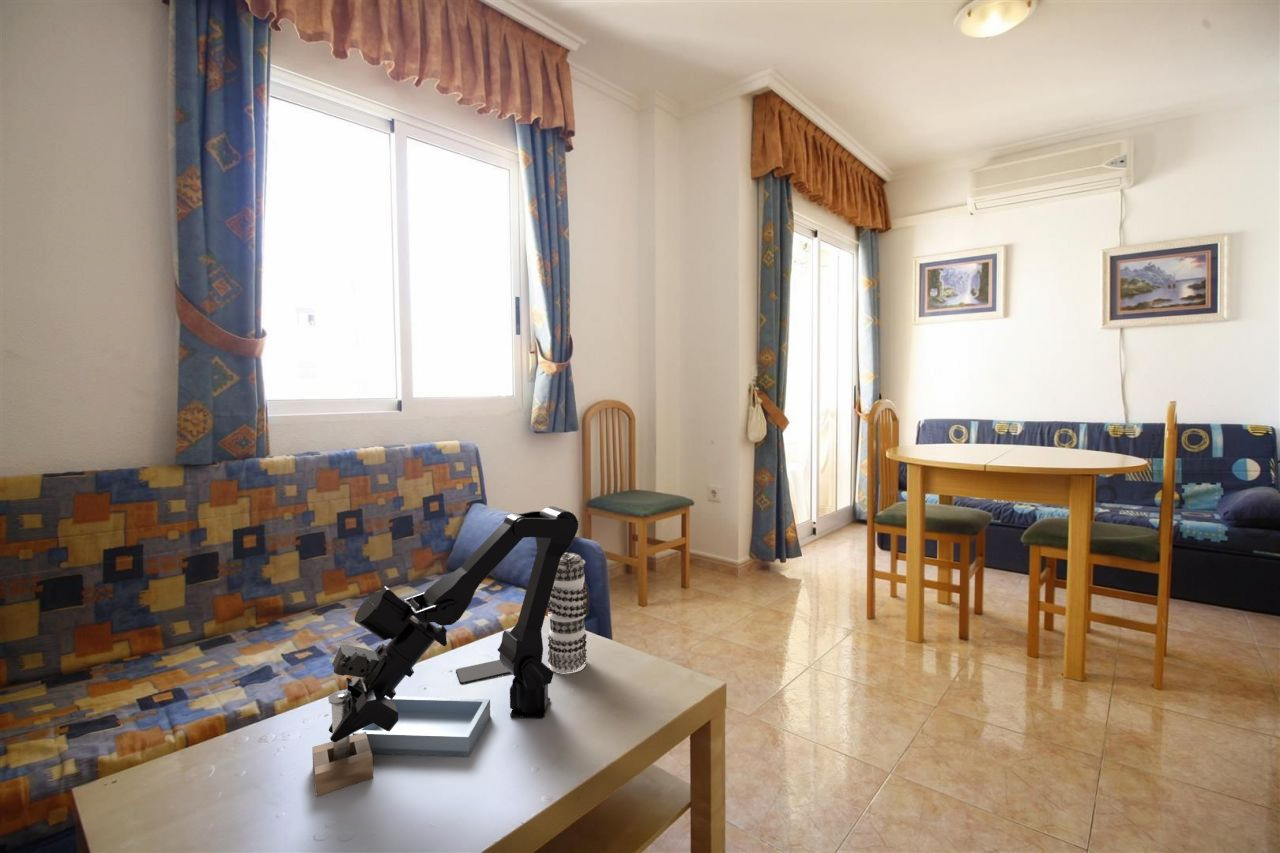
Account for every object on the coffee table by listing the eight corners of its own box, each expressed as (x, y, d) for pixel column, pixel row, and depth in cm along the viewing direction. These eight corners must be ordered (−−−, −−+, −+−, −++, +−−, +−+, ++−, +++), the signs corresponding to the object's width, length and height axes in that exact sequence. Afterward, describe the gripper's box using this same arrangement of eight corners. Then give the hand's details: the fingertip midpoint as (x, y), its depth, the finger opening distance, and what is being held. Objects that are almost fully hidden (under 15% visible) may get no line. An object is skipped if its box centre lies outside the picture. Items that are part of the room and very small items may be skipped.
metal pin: (357, 766, 97) (354, 690, 96) (347, 779, 93) (343, 700, 92) (338, 765, 97) (335, 689, 96) (327, 778, 94) (324, 700, 93)
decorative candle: (544, 658, 135) (543, 551, 133) (584, 653, 137) (584, 548, 135) (548, 677, 126) (547, 563, 124) (591, 672, 128) (590, 560, 126)
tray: (490, 716, 111) (490, 698, 111) (468, 756, 99) (468, 736, 99) (387, 713, 112) (386, 696, 112) (353, 753, 100) (352, 733, 100)
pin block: (366, 751, 101) (365, 731, 100) (373, 777, 94) (372, 756, 94) (313, 767, 96) (312, 747, 96) (316, 796, 90) (315, 774, 89)
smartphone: (455, 668, 129) (522, 654, 136) (455, 672, 129) (522, 658, 136) (460, 683, 123) (530, 667, 129) (460, 687, 123) (530, 671, 129)
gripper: (357, 608, 103) (287, 686, 98) (372, 649, 88) (290, 744, 83) (406, 641, 108) (341, 717, 103) (429, 685, 92) (353, 777, 87)
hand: (331, 736), depth 94 cm, fingers closed on metal pin, 2 cm apart
